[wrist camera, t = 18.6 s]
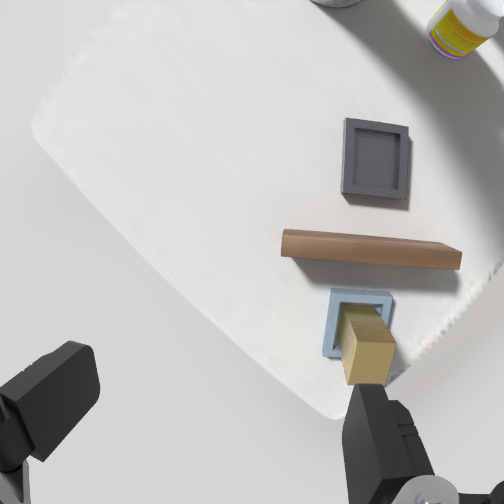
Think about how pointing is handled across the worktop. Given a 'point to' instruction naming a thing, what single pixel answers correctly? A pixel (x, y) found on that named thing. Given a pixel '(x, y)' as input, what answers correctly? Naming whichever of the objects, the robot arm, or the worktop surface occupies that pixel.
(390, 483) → the robot arm
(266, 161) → the worktop surface
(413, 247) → the board
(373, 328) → the block
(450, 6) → the supplement bottle
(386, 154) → the grey square flat frame
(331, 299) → the socket
